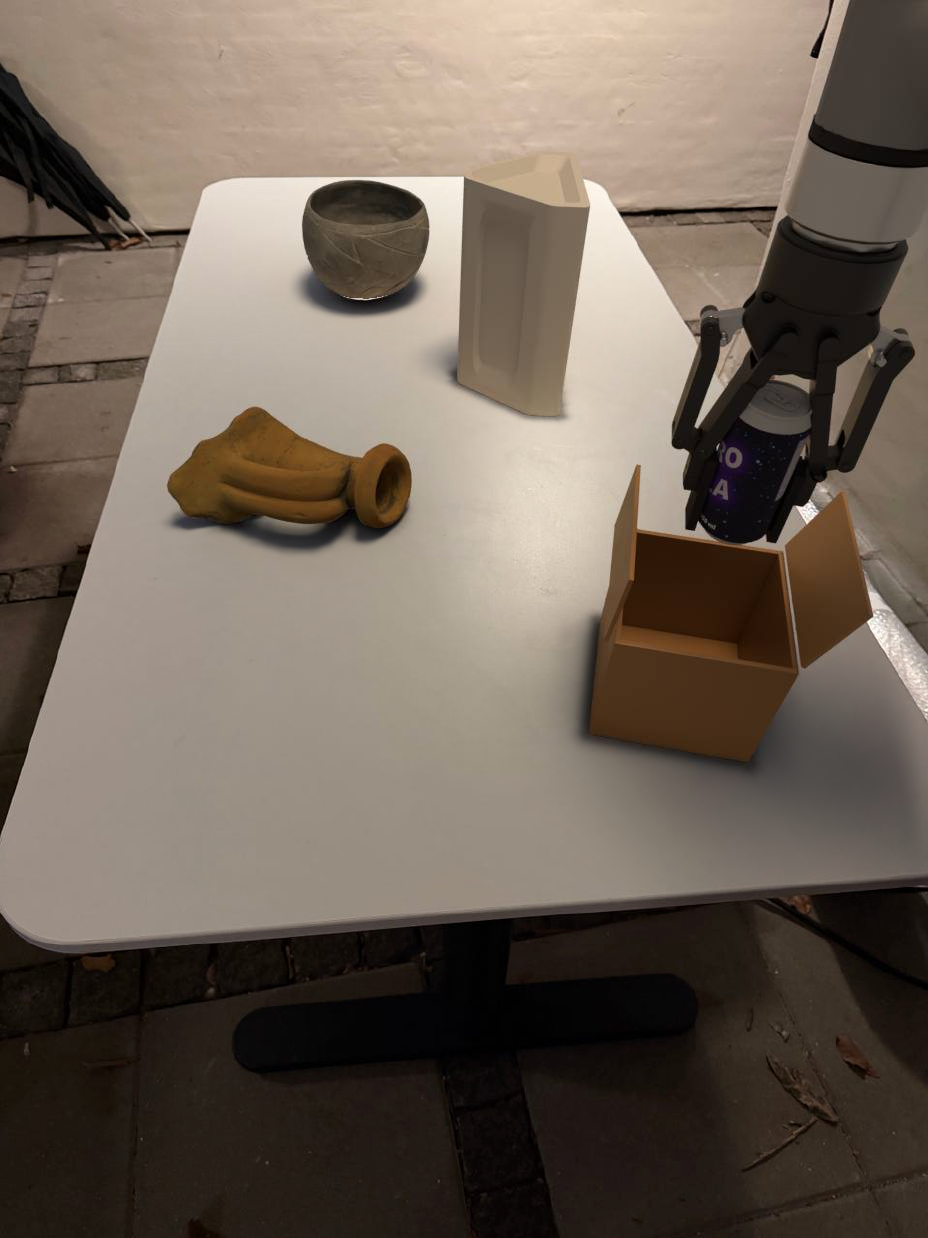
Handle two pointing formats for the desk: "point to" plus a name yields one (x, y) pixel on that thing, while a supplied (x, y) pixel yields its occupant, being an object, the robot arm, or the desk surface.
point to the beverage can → (756, 463)
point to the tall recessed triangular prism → (520, 277)
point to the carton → (691, 641)
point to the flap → (826, 581)
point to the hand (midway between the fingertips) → (730, 525)
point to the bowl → (365, 237)
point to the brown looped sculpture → (288, 477)
